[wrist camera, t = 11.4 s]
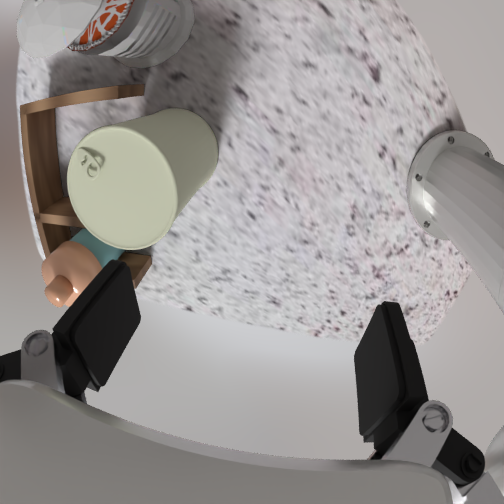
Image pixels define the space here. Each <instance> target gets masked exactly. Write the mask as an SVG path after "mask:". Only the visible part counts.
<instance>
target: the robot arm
mask: <svg viewBox="0 0 504 504" xmlns="http://www.w3.org/2000/svg"><path fill="white" fill-rule="evenodd" d="M416 174H417V176H416ZM415 176H416V177H415ZM407 198H408V203H409V208H410V210H411V213H412V215H413V217H414V219H415V220H416V222H417V223H418V225H419V226H420V227H421V228H422V230H424V231H425V232H426V233H427V234H429V235H430V236H432V237H434V238H436V239H440V240H450V241H451V242H452V244H453V245H454V246H455V247H456V248H457V250H458V251H459V252H460V253H461V255H462V256H463V257H464V258H465V260H466V261H467V262H468V264H469V265H470V266H471V268H472V269H473V270H474V272H475V273H476V274H477V276H478V277H479V278H480V280H481V281H482V282H483V284H484V285H485V287H486V288H487V290H488V291H489V292H490V294H491V296H492V297H493V298H494V300H495V301H496V303H497V304H498V306H499V308H500V309H501V311H502V312H503V313H504V165H502V164H500V163H499V162H497V161H495V160H494V158H493V155H492V153H491V151H490V150H489V148H488V147H487V145H486V144H485V143H484V142H483V141H482V140H481V139H479V138H478V137H476V136H474V135H473V134H470V133H468V132H465V131H460V130H449V131H445V132H442V133H439V134H437V135H436V136H434V137H432V138H431V139H430V140H429V141H427V142H426V143H425V144H424V145H423V146H422V148H421V149H420V151H419V152H418V153H417V155H416V157H415V159H414V161H413V163H412V165H411V169H410V172H409V175H408V183H407ZM140 320H141V315H140V311H139V307H138V303H137V299H136V294H135V290H134V285H133V281H132V276H131V271H130V268H129V266H127V264H126V263H125V262H124V261H119V260H114V259H112V260H110V261H109V262H108V263H107V264H106V265H105V266H104V267H103V269H102V270H101V271H100V272H99V273H98V274H97V275H96V276H95V278H94V279H93V280H92V281H91V282H90V283H89V285H88V286H87V287H86V288H85V289H84V290H83V292H82V293H81V294H80V295H79V296H78V298H77V299H76V300H75V301H74V302H73V304H72V305H71V306H70V307H69V309H68V310H67V311H66V312H65V314H64V315H63V316H62V317H61V319H60V320H59V321H58V323H57V324H56V325H55V326H54V328H53V331H54V332H53V333H52V334H50V333H49V332H48V331H46V330H36V331H34V332H32V333H30V334H29V335H28V336H27V337H26V338H25V339H24V341H23V343H22V347H21V350H18V351H15V352H11V353H8V354H5V355H2V356H0V504H504V426H503V427H502V428H501V429H500V431H499V432H498V433H497V434H496V436H495V437H494V438H493V440H492V442H491V443H490V445H489V447H488V449H487V451H486V454H485V456H484V455H483V453H482V452H481V451H480V450H479V449H478V448H477V447H476V446H474V445H473V444H472V443H471V442H469V441H468V440H467V439H465V438H464V437H463V436H462V435H460V434H459V433H458V432H457V431H456V430H454V429H453V428H452V424H453V417H452V414H451V411H450V410H449V408H448V407H447V406H446V405H445V404H444V403H442V402H440V401H435V400H432V401H429V400H428V395H427V391H426V387H425V382H424V378H423V374H422V370H421V367H420V363H419V359H418V355H417V352H416V348H415V345H414V342H413V340H411V339H410V335H409V332H408V329H407V326H406V322H405V319H404V316H403V313H402V310H401V307H400V305H399V303H396V302H387V301H384V302H383V303H382V304H381V305H378V306H377V307H376V309H375V312H374V314H373V316H372V318H371V320H370V323H369V325H368V327H367V329H366V331H365V333H364V335H363V337H362V339H361V341H360V343H359V345H358V347H357V349H356V351H355V355H354V362H355V374H356V384H357V398H358V412H359V432H360V435H362V436H363V437H364V442H374V449H375V450H374V452H373V453H372V454H371V455H370V456H369V458H368V459H367V460H329V459H307V458H293V457H282V456H273V455H264V454H258V453H250V452H244V451H239V450H233V449H228V448H222V447H217V446H213V445H208V444H204V443H200V442H195V441H191V440H187V439H184V438H180V437H176V436H173V435H169V434H166V433H163V432H159V431H156V430H153V429H150V428H147V427H144V426H141V425H138V424H135V423H132V422H130V421H127V420H124V419H121V418H119V417H116V416H114V415H111V414H109V413H107V412H104V411H102V410H99V409H97V408H95V407H92V406H90V405H88V404H87V401H86V397H85V393H84V390H85V389H86V387H88V388H90V389H92V390H94V391H97V392H98V391H99V389H100V387H101V386H104V385H105V384H106V382H107V380H108V379H109V377H110V375H111V373H112V371H113V369H114V368H115V366H116V364H117V362H118V360H119V358H120V357H121V355H122V353H123V351H124V350H125V348H126V346H127V344H128V343H129V340H130V339H131V337H132V336H133V334H134V332H135V330H136V329H137V327H138V325H139V323H140Z"/></svg>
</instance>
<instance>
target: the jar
mask: <svg viewBox="0 0 504 504" xmlns="http://www.w3.org/2000/svg"><path fill="white" fill-rule="evenodd" d="M69 241H74V242H78V243H80V244H82V245H83V246H85V247H86V248H87V249H89V250H90V251H91V252H92V253H93V254H94V256H95V257H96V258H97V260H98V261H99V263H100V265H101V267H102V269H103V267H104V266H105V265H106V264H107V263H108V262H109V261H110V260H112V259H114V260H118V259H119V258H120V256H121V255H122V254H123V253H124V252H125V249H120V248H116V247H113V246H110V245H108V244H106V243H104V242H102V241H101V240H99V239H98V238H96V237H95V236H94V235H93V234H92V233H91V232H89V231H88V230H87V228H83V229H82V230H81V231H79V232H78V233H77V234H76V235H75V236H74V237H73V238H72V239H71V240H69Z"/></svg>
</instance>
